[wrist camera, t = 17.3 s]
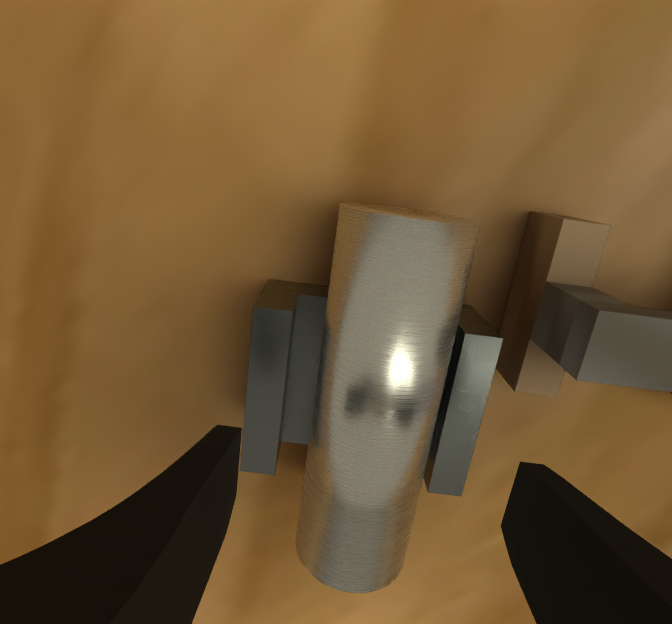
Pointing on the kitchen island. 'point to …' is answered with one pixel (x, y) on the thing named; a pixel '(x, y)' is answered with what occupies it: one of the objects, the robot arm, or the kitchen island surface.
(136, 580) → the robot arm
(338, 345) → the axle
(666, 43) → the kitchen island surface
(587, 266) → the bearing block
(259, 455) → the cradle
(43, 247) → the kitchen island surface
